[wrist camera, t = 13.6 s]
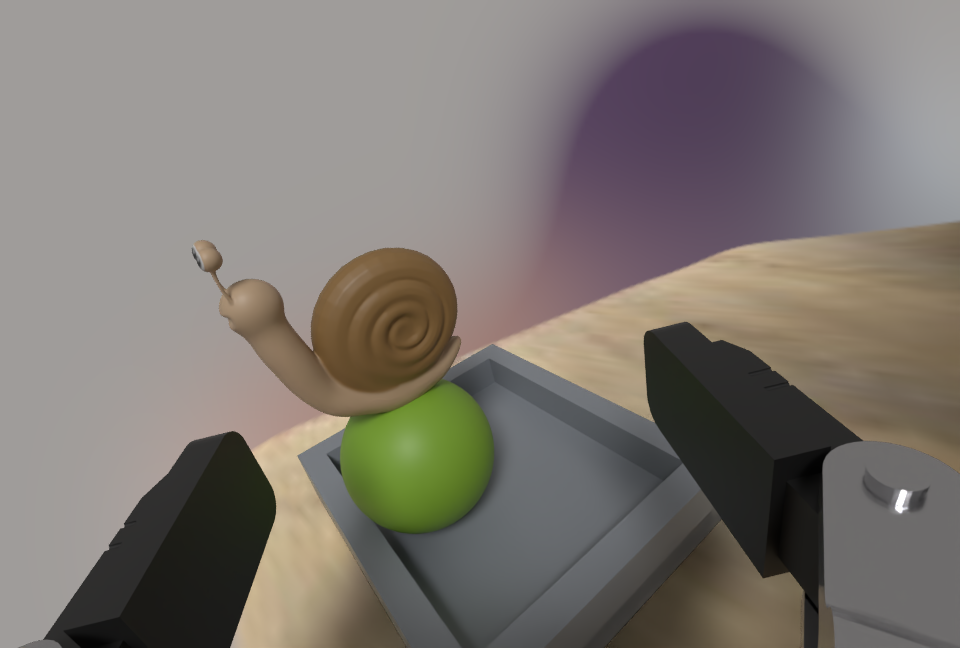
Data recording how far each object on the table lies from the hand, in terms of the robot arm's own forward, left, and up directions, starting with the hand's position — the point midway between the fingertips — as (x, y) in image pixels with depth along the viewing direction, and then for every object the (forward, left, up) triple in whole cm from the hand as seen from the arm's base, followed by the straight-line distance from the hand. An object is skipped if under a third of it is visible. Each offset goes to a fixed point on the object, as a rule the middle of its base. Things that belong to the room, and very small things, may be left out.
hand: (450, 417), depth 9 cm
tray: (-3, -5, -9) cm, 11 cm away
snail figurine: (-1, -6, -8) cm, 11 cm away
